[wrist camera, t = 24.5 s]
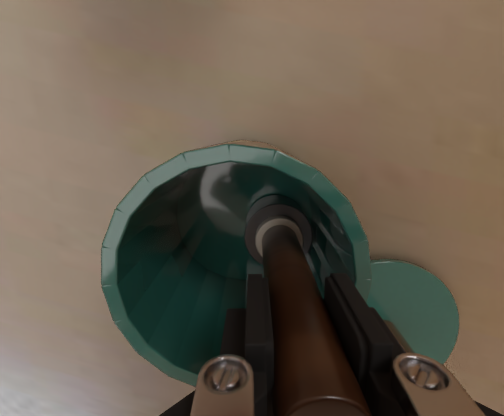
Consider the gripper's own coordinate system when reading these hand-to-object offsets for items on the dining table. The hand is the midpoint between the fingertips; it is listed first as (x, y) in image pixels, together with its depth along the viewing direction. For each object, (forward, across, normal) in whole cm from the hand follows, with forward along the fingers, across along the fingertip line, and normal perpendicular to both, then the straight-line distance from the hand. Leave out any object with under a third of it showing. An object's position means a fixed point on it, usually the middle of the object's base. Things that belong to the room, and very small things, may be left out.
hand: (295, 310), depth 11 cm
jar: (+12, +2, 0) cm, 12 cm away
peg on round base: (+11, 0, 0) cm, 11 cm away
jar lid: (+11, -8, +9) cm, 17 cm away
